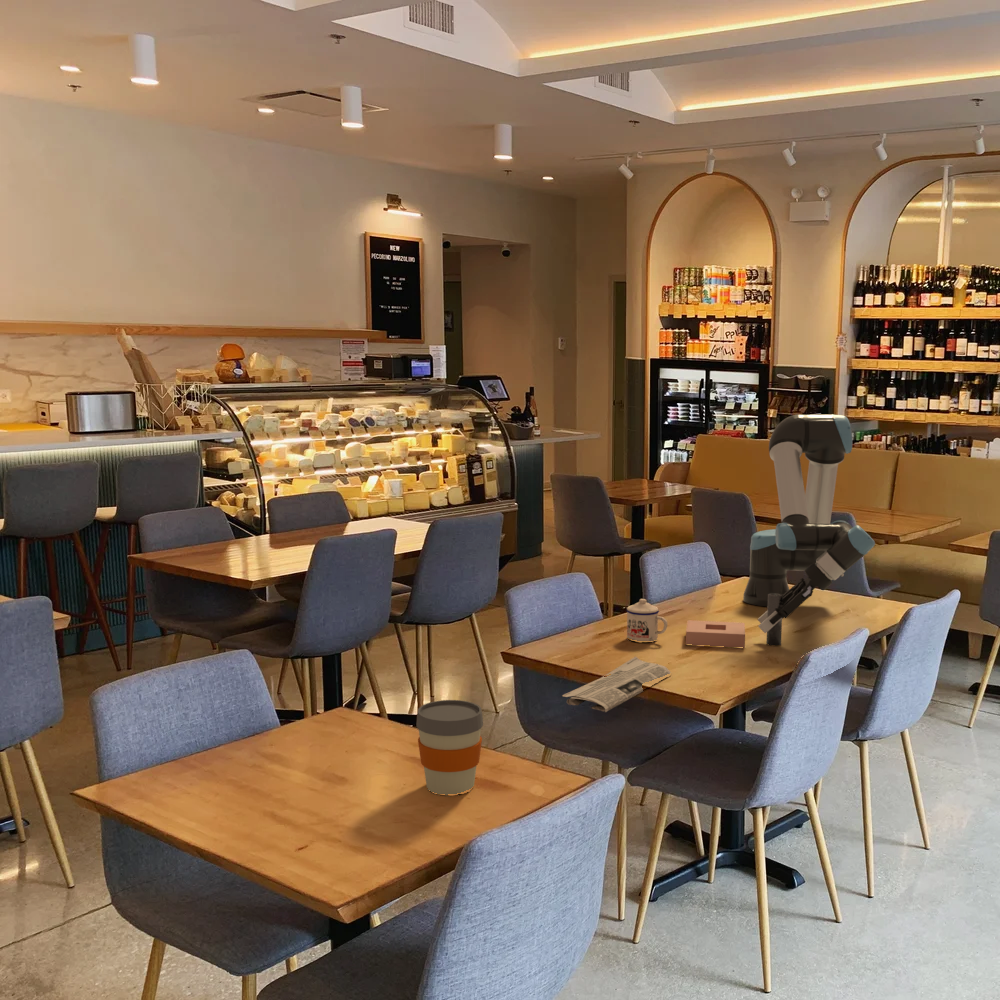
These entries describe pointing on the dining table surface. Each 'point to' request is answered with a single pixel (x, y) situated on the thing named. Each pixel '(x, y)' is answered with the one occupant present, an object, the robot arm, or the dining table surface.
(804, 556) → the robot arm
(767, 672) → the dining table surface
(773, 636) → the pin
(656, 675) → the newspaper
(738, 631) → the pink block with hole
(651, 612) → the teacup with lid
